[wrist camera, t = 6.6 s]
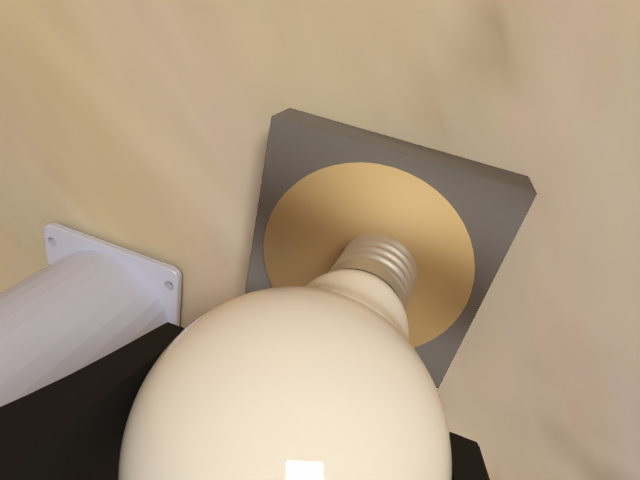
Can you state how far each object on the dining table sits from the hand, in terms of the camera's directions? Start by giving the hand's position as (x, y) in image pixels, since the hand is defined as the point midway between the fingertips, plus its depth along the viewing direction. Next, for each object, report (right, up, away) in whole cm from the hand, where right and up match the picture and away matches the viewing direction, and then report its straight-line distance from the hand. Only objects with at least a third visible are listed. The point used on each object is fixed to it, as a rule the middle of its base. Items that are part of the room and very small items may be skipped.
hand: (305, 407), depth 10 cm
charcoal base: (+2, +4, +8) cm, 9 cm away
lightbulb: (+3, +3, +5) cm, 7 cm away
